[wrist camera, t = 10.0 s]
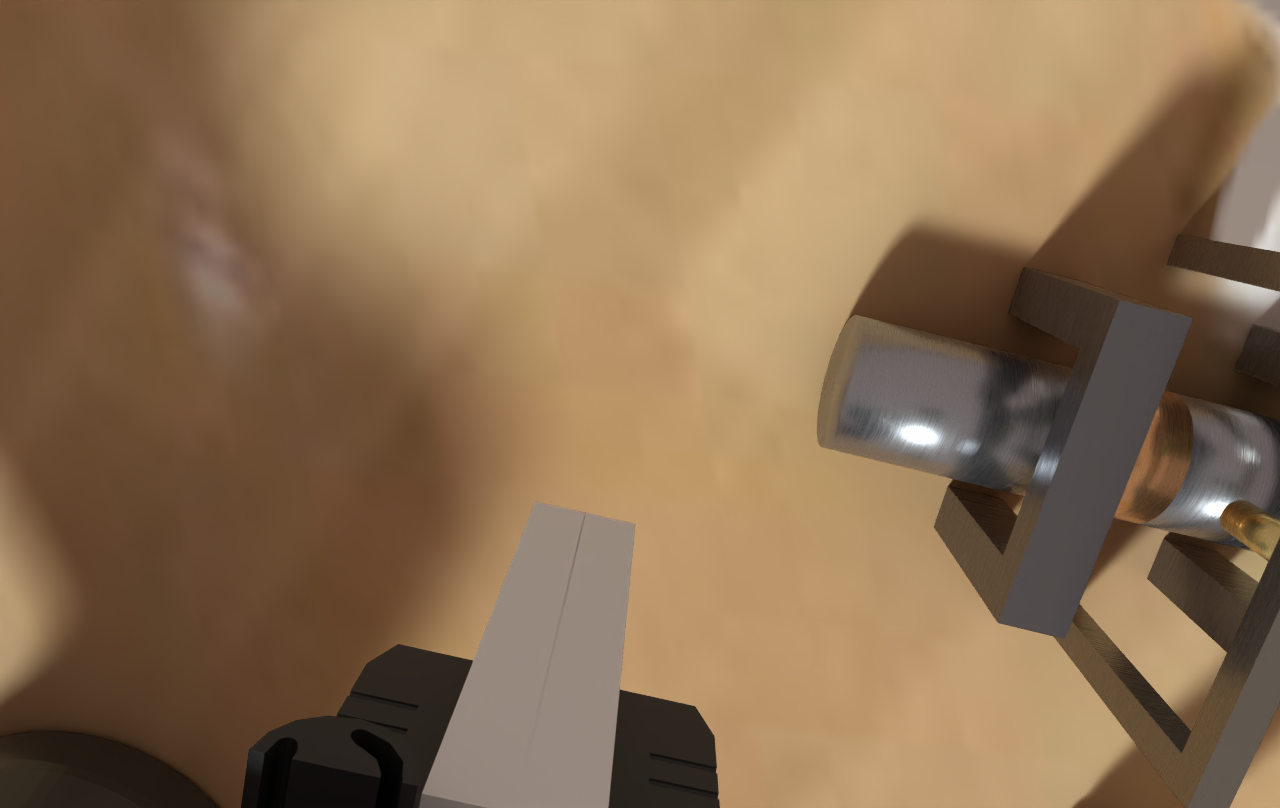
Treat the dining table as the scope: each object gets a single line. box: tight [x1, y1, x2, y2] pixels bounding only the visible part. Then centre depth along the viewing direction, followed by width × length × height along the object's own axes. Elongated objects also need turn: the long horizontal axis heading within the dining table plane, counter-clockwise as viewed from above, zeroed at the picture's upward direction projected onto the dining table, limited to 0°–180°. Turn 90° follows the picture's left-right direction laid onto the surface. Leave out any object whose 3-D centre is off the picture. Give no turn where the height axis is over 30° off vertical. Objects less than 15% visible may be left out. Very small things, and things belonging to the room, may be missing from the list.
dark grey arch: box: [934, 267, 1193, 639], centre depth 30 cm, size 2×10×7 cm, turn 167°
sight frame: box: [1054, 235, 1280, 808], centre depth 28 cm, size 1×14×11 cm, turn 167°
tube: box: [817, 315, 1280, 552], centre depth 31 cm, size 18×4×4 cm, turn 77°
